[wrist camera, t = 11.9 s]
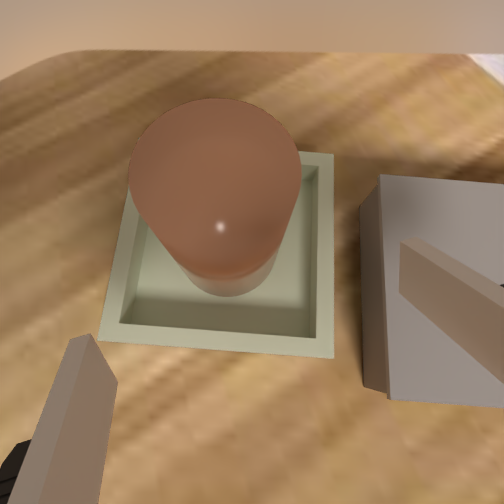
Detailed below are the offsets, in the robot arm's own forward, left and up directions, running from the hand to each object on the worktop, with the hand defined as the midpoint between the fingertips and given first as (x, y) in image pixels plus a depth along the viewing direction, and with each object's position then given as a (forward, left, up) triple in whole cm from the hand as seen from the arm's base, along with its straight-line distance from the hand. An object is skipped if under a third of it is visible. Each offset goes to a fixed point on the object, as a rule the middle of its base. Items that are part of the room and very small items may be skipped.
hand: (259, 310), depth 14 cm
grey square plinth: (+14, +3, -7) cm, 16 cm away
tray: (-2, +5, -7) cm, 9 cm away
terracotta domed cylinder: (-2, +5, -7) cm, 9 cm away
